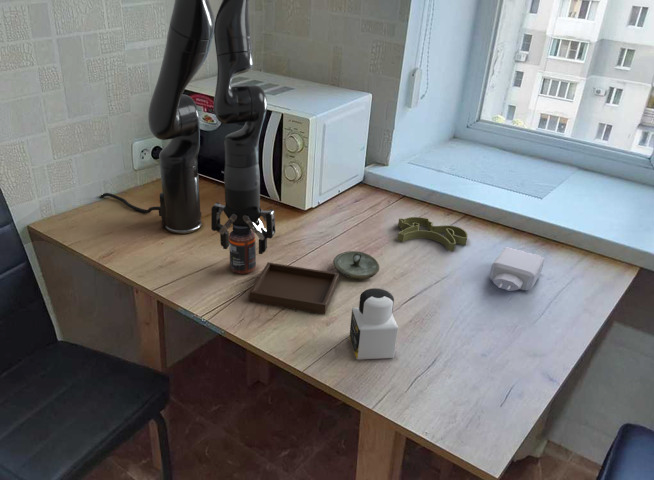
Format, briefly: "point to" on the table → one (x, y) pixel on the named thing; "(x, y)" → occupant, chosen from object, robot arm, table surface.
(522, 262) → the charger
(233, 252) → the supplement bottle
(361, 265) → the antique brass shank button
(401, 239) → the cookie cutter
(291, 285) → the tray
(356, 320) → the medicine bottle
